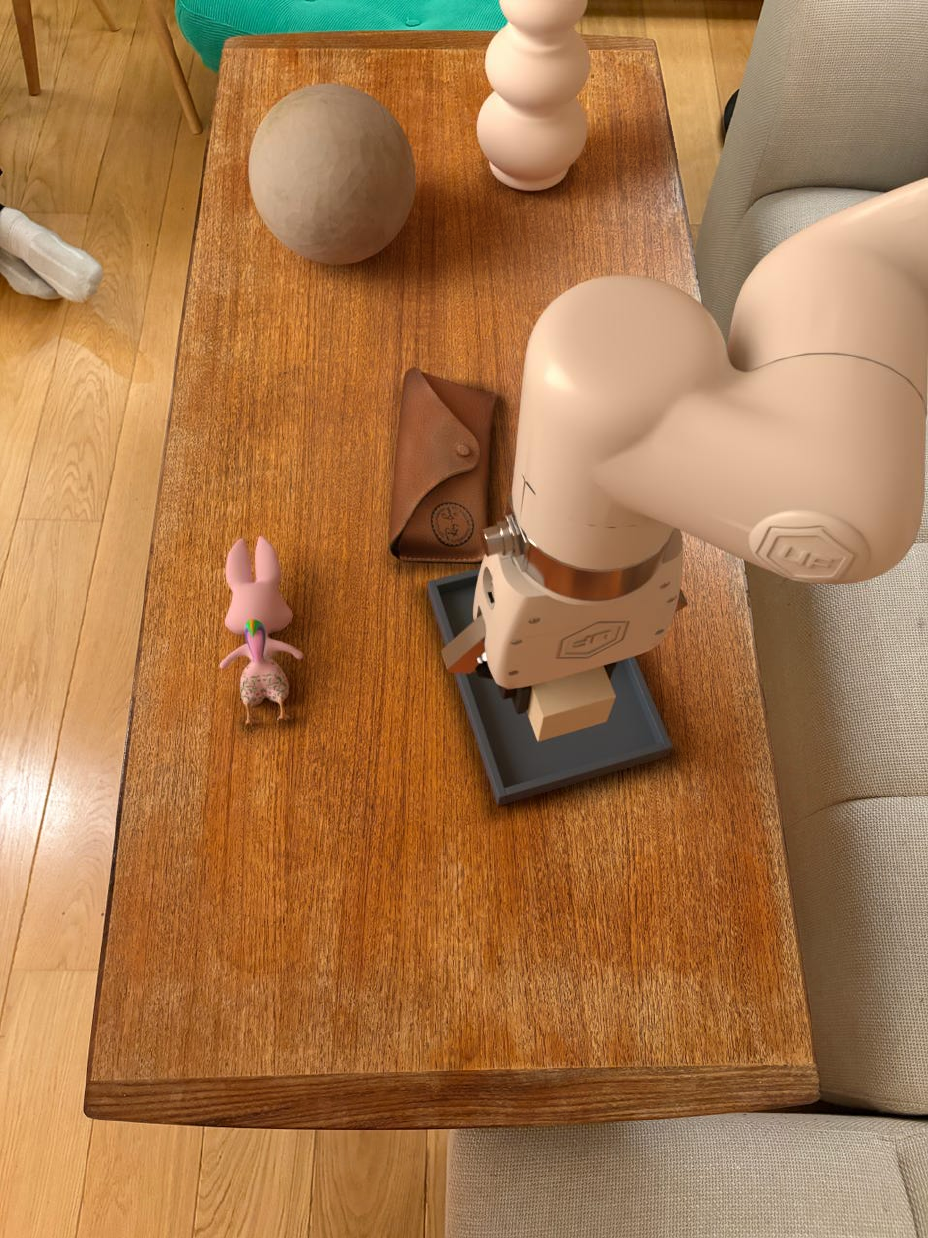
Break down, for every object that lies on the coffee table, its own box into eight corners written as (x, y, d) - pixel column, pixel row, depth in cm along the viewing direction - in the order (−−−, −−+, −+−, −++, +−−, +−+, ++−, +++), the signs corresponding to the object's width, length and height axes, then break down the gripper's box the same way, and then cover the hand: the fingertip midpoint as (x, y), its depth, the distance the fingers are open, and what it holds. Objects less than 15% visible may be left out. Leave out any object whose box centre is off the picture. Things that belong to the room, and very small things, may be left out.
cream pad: (567, 624, 65) (574, 595, 61) (606, 722, 62) (616, 696, 58) (501, 643, 64) (504, 614, 61) (537, 742, 61) (543, 717, 58)
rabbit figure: (312, 721, 77) (293, 540, 81) (304, 703, 71) (284, 509, 75) (229, 733, 76) (215, 550, 81) (214, 715, 70) (199, 519, 75)
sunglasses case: (495, 561, 81) (453, 521, 76) (421, 581, 84) (376, 543, 79) (498, 387, 89) (461, 340, 84) (431, 410, 93) (391, 367, 87)
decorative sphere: (267, 190, 101) (239, 46, 88) (416, 187, 102) (411, 44, 88) (259, 300, 94) (228, 162, 81) (419, 298, 95) (414, 160, 82)
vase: (594, 196, 102) (636, -68, 79) (489, 212, 100) (502, -51, 78) (565, 126, 106) (596, -141, 84) (464, 140, 105) (469, -127, 83)
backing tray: (583, 553, 82) (586, 540, 80) (667, 756, 74) (673, 747, 73) (428, 593, 80) (427, 581, 79) (497, 806, 72) (498, 797, 71)
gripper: (438, 638, 44) (441, 774, 60) (791, 542, 46) (702, 697, 62) (392, 500, 47) (406, 664, 63) (724, 417, 50) (656, 596, 66)
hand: (553, 679), depth 63 cm, fingers closed on cream pad, 4 cm apart
